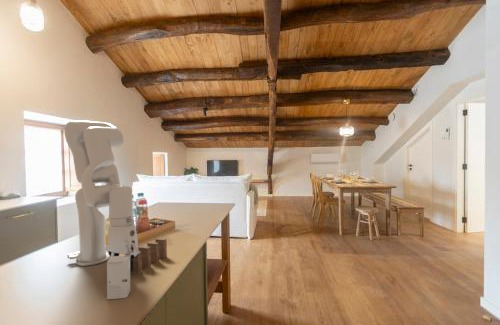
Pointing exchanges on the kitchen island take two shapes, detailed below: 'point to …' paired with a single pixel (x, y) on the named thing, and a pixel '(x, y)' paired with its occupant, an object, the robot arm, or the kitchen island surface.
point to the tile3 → (154, 251)
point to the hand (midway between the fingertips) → (122, 270)
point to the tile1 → (137, 264)
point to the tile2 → (145, 256)
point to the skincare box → (118, 277)
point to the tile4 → (162, 247)
